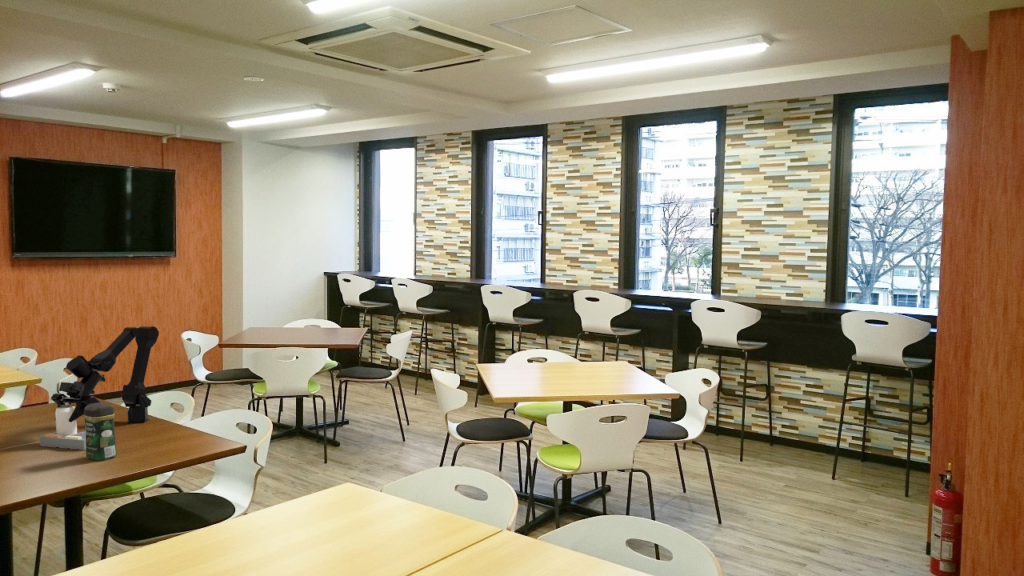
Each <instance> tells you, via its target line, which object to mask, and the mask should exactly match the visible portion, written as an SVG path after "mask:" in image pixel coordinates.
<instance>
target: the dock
mask: <svg viewBox="0 0 1024 576" xmlns="http://www.w3.org/2000/svg"><path fill="white" fill-rule="evenodd" d="M39 444H40V445H39V446H40V447H46V446H47V447H48V448H56V447H59V448H58V449H67V448H70V449H69V450H77V449H79V450H80V451H86V430H84V431H80V432H77V434H73V435H69V436H65V437H62V435H58V434H57V433H56V431H54V432H52V433H51V432H50V433H46V434H43V435H40V436H39ZM79 450H78V451H79Z"/></svg>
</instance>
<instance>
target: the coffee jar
mask: <svg viewBox="0 0 1024 576" xmlns="http://www.w3.org/2000/svg"><path fill="white" fill-rule="evenodd" d="M115 415H116V414H115V407H114V406H113V405H111V404H106V403H105V404H104V403H93V404H88V405H87V406H86V407H85V408H84V415H83V417H84V425H85V426H84V427H85V431H86V450H85V457H86V458H87V459H89V460H93V461H95V462H96V461H106V460H110V459H112V458H114V457H116V456H117V446H116V445H117V444H116V432H115V431H116V430H115Z"/></svg>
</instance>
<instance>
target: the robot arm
mask: <svg viewBox="0 0 1024 576" xmlns="http://www.w3.org/2000/svg"><path fill="white" fill-rule="evenodd" d="M159 332H160V331H159V330H158V328H157V327H156V326H151V325H150V326H148V325H141V326H139V327H136V326H134V327H133V326H127V327H124V329H123V331H122V332H121V333H120V334H119V335H118V336H117V337H116V338H115V340H113V341H112V342H111V344H109V346H108V347H106V349H105V350H103V351H101V352H100V351H99V352H98V353H97V354H95V355H94V356H92V357H91V358H90V360H88V359H86V358H85V357H84V356H83V355H80V354H79V355H76V356H75V357H74V358H72V359H71V360H69V361H67V363H66V365H65V368H66V369H67V370H68V371H69V372H70V373H71V374H72V375H74V376H75V378H77V379H80V380H79V381H77V380H76V381H75V380H74V382H64V381H63V382H60V385H59V389H58V392H59V393H57V392H55V393H53V394H52V395H51V397H50V400H51V401H53V402H54V403H55V404H56V405H57V406H61V405H68V404H74V405H75V410H74V411H73V413H72V415H71V417H70V418H69V422H72V421H74V420H78V418H80V417H82V416H84V408H85V407H86V406H87V405H88V404H93V403H101V401H100V400H98V398H96V397H95V396H94V395H95V393H96V392H95V389H96V387H97V385H98V384H99V382H102V383H103V382H106V377H105V374H101V373H102V372H103V373H104V372H105V373H106V372H107V373H108V372H110V371H111V370H112V368H113V367H114V366H115V364H116V363H117V361H116V360H117V358H118V356H120V354H121V353H122V352H123V351H124V350H125V348H127V346H128V345H130V343H131V342H132V341H133V340H135V344H136V346H137V348H136V353H135V357H134V363H133V368H132V372H131V376H130V381H129V382H128V384H123V386H122V390H121V391H122V392H121V394H120V395H121V400H122V402H123V404H124V406H125V408H128V411H127V424H138V422H144V423H146V422H147V421H149V420H150V419H149V418H150V417H149V411H148V408H149V407H150V406H151V405H152V400H151V399H150V398H149V397H148V396H147V388H146V385H145V378H146V374H147V368H148V365H149V364H148V363H149V360H150V354H151V350H152V348H153V347H154V346H155V344H156V343H157V341H158V338H159V336H160V333H159ZM100 372H101V373H100ZM60 392H64V393H65V394H64V393H60ZM68 396H69V397H68ZM101 404H102V403H101ZM148 419H149V420H148ZM54 421H56V415H55V417H54ZM145 421H146V422H145Z"/></svg>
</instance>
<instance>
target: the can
mask: <svg viewBox="0 0 1024 576" xmlns="http://www.w3.org/2000/svg"><path fill="white" fill-rule="evenodd" d="M75 408H76V406H75V404H73V403H71V404H68V405H61V406H58V405H57V406H56V409H55V416H56V420H55V428H56V430H55V432H56V433H57V434H58V435H62V437H65V436H69V435H73V434H77V433H78V423H77V422H78V421H77V420H78V419H76V420H74V421H72V422H69V418H70V417H71V415H72V413H73V411H74V410H75Z"/></svg>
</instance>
